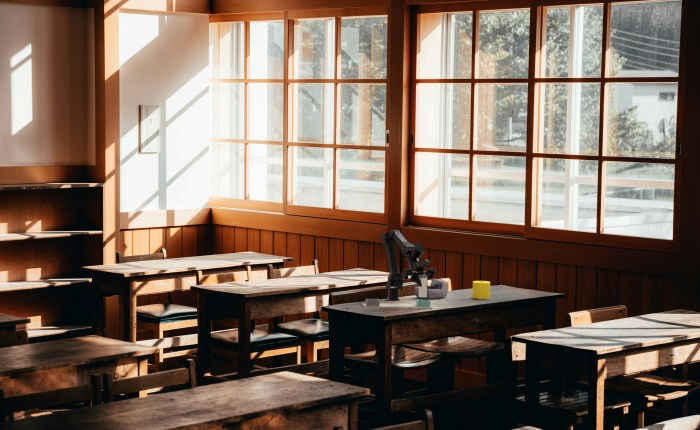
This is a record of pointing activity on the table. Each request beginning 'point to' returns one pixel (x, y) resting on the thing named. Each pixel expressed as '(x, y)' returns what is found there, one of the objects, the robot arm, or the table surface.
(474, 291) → the yellow cube
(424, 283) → the plug
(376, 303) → the panel
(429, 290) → the grey armchair
